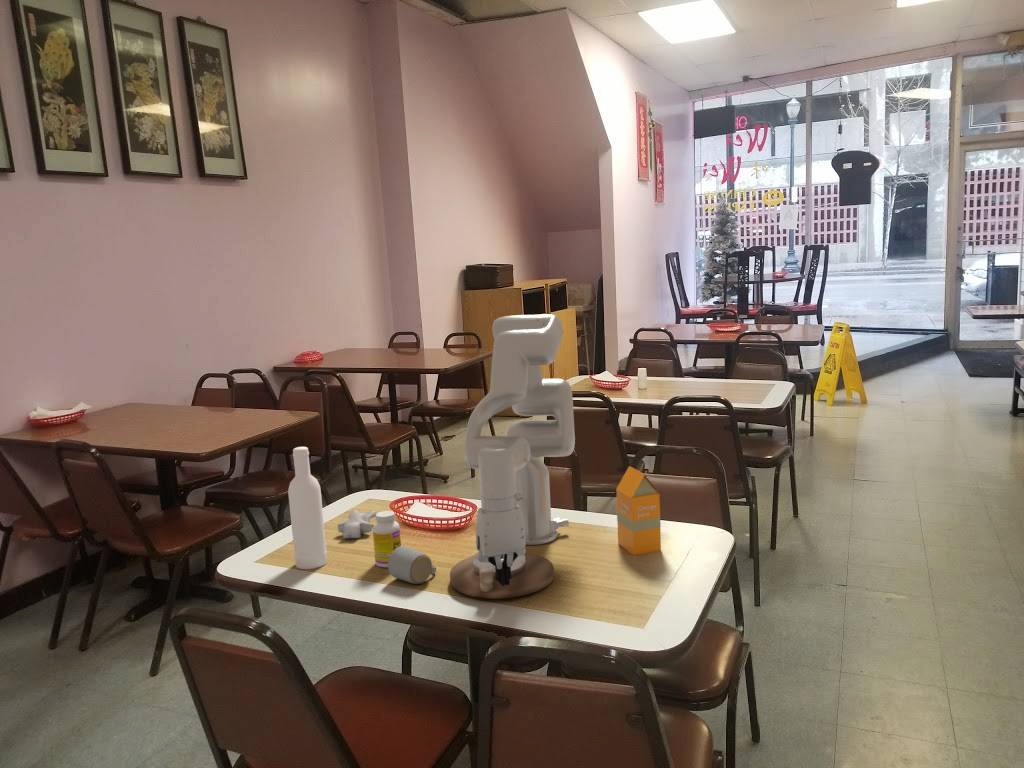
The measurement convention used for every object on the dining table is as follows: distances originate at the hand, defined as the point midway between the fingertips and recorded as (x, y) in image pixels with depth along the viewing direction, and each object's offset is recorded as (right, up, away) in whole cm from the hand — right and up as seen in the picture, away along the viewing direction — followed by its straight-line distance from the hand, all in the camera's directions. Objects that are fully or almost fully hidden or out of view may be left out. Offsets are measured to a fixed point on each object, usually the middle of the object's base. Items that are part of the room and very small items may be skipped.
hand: (503, 583), depth 168 cm
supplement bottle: (-29, -2, +25) cm, 38 cm away
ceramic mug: (-21, -3, +15) cm, 26 cm away
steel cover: (-1, 0, +11) cm, 11 cm away
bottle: (-49, -2, +28) cm, 56 cm away
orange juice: (+34, +2, +27) cm, 44 cm away
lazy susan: (0, -2, +11) cm, 11 cm away
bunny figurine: (-41, +1, +50) cm, 65 cm away
